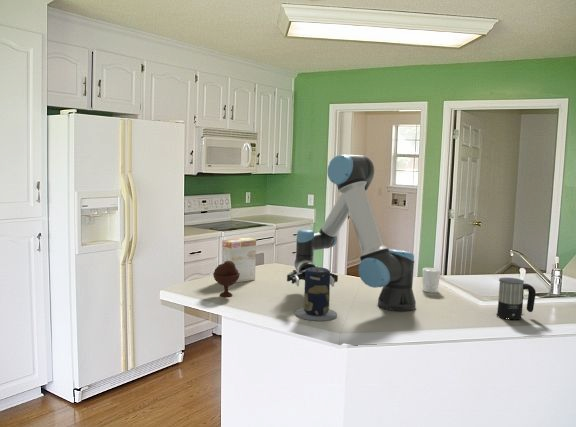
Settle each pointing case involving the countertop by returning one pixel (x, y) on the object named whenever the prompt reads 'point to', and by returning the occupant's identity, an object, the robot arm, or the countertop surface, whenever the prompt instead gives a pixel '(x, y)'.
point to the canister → (317, 290)
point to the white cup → (430, 279)
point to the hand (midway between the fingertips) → (315, 283)
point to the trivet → (310, 317)
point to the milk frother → (514, 298)
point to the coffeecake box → (241, 256)
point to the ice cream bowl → (226, 276)
